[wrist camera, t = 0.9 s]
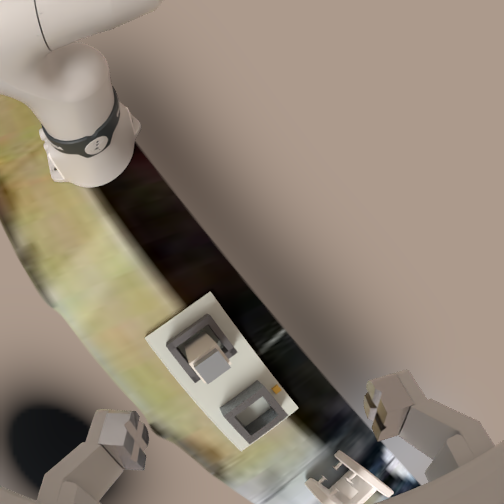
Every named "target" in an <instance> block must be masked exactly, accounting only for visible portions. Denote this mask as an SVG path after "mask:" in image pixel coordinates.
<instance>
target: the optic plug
mask: <svg viewBox="0 0 504 504" xmlns="http://www.w3.org/2000/svg"><path fill="white" fill-rule="evenodd" d="M184 347H185V351H186V355H187V359H188V363H189V365H190V366H191V367H192V369H193V370H194V371H195V372H196V374H197V375H198V376H199V377H200V379H201V380H202V381H203V382H204V383H207V384H209V383H211V382H212V381H213V380H215V379H216V378H218V377H219V376H220V375H222V374H223V373H224V372H226V371H227V370H229V369H230V368H231V367H230V365H231V364H232V363H231V362H230V360H229V359H228V358H227V356H226V355H225V354H224V352H223V351H222V350H221V349H220V347H219V346H218V345H217V343H216V342H215V341H214V340H213V339H212V338H211V337H210V336H209V335H208V334H207V333H206V332H205V331H203V332H202V333H201V334H199V335H198V336H196V337H195V338H194V339H192V340H191V341H189V342H188V343H187V344H185V345H184Z"/></svg>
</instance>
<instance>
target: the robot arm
mask: <svg viewBox="0 0 504 504" xmlns="http://www.w3.org/2000/svg"><path fill="white" fill-rule="evenodd" d="M162 2H163V0H0V94H2V95H6V96H9V97H12V98H14V99H17V100H19V101H21V102H23V103H24V104H26V105H27V106H28V107H29V108H30V109H31V110H32V111H33V113H34V114H35V115H36V117H37V118H38V119H39V121H40V122H41V123H42V128H41V129H40V130H39V134H40V137H41V139H42V140H45V144H44V148H45V150H46V152H47V157H48V163H49V168H50V173H51V177H52V179H53V180H54V181H55V182H70V183H73V184H75V185H78V186H81V187H97V186H101V185H104V184H106V183H108V182H110V181H112V180H113V179H115V178H116V177H118V176H119V175H120V174H121V173H122V172H123V171H124V170H125V168H126V167H127V165H128V164H129V162H130V160H131V158H132V155H133V151H134V143H135V139H136V137H137V136H138V134H139V132H140V130H141V124H140V122H139V121H138V120H137V119H136V118H135V117H134V116H133V115H132V114H131V113H130V112H129V109H128V107H125V106H124V105H123V104H122V103H121V102H120V101H119V99H118V95H117V93H116V91H115V89H114V88H113V86H112V83H111V77H110V72H109V67H108V63H107V60H106V59H105V57H104V56H103V54H102V53H100V52H99V51H98V50H97V49H95V48H94V47H92V46H90V45H88V44H85V43H80V42H75V41H78V40H81V39H84V38H86V37H89V36H92V35H95V34H98V33H101V32H104V31H107V30H111V29H114V28H116V27H118V26H120V25H123V24H125V23H127V22H130V21H132V20H134V19H136V18H138V17H141V16H143V15H145V14H148V13H150V12H152V11H155V10H156V9H157V8H158V7H159V5H160V4H161V3H162ZM132 122H133V123H132ZM55 169H57V170H56V171H55ZM366 388H367V390H368V392H367V393H366V395H365V396H364V409H365V413H366V415H367V418H368V419H369V420H371V421H373V425H372V430H373V432H374V434H375V437H376V439H377V441H381V440H385V439H388V438H391V437H394V436H397V435H399V437H401V438H402V439H404V440H405V441H406V442H408V443H409V444H411V445H412V446H414V447H415V448H416V449H418V450H419V451H421V452H422V453H424V454H425V455H427V456H428V457H430V458H431V459H433V461H432V463H431V464H430V466H429V467H428V468H427V470H426V472H425V475H426V477H427V479H428V481H429V482H428V483H426V484H424V485H422V486H419V487H417V488H415V489H412V490H410V491H407V492H405V493H402V494H400V495H397V496H395V497H392V498H389V499H386V500H383V501H381V502H378V503H375V504H504V440H503V441H502V442H500V443H499V444H498V445H496V446H495V445H494V444H493V442H492V440H491V439H490V437H489V436H488V434H487V433H486V431H485V430H484V428H483V426H482V425H481V423H480V422H479V421H477V420H475V419H473V418H471V417H468V416H466V415H464V414H462V413H460V412H457V411H456V410H453V409H451V408H449V407H447V406H445V405H443V404H441V403H439V402H437V401H434V400H432V399H429V400H427V398H426V397H425V395H424V393H423V392H422V390H421V389H420V387H419V386H418V384H417V382H416V381H415V379H414V378H413V376H412V375H411V373H410V372H409V371H408V370H403V371H400V372H397V373H393V374H389V375H386V376H383V377H379V378H376V379H372V380H369V381H368V382H367V386H366ZM148 441H149V436H148V431H147V428H146V426H145V424H144V423H142V422H140V421H139V415H138V413H137V412H136V411H120V410H104V409H98V410H97V411H96V413H95V415H94V418H93V421H92V424H91V427H90V430H89V433H88V436H87V439H86V442H85V443H83V442H82V443H81V444H80V445H79V446H78V447H76V448H75V449H74V450H73V451H72V452H71V453H69V454H68V455H67V456H66V457H65V458H64V459H63V460H61V461H60V462H59V463H58V464H57V465H55V466H54V467H53V468H52V469H51V470H50V471H48V472H47V473H46V474H45V475H44V478H43V482H42V485H41V488H40V491H39V494H38V498H37V501H36V500H33V499H30V498H28V497H25V496H23V495H20V494H18V493H15V492H13V491H11V490H8V489H6V488H4V487H2V486H0V504H101V503H100V502H98V501H99V500H100V499H101V498H102V496H103V495H104V494H105V493H106V491H107V490H108V489H109V488H110V487H111V485H112V484H113V483H114V482H115V481H116V479H117V478H118V477H119V476H120V474H121V473H122V472H123V471H124V470H123V469H130V470H144V467H145V461H146V455H145V453H144V452H143V451H144V450H145V449H146V448H147V447H148Z"/></svg>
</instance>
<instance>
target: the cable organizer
mask: <svg viewBox="0 0 504 504" xmlns="http://www.w3.org/2000/svg"><path fill="white" fill-rule="evenodd" d="M334 456H335V457H336V458H337V459H338V460H339V461H340V462H339V463H338V464H337V465H336V466H335V467H334V469H336V470H337V469H338V468H339V467H340V466H341V465H342V464H344V465H345V466H346V467H348V468H349V469H350V470H349V471H348V472H347V473H345V474H344V475H343V476H342V477H341V478H340V479H339V480H338V481H337V482H336V483H335V484H334V485H333V486H332V487H331V488H330V489H328V488H326V487H325V486H323V485H322V484H321V483H322V482H323V481H324V480H325V479H326V478H325V477H324V476H323V475H322V476H323V477H322V478H321V479H320V480H319V481H316V480H314V479H313V478H310V479H309V480H307V481H306V482H305V485H306V486H307V488H308V489H309V490H310V491H311V492H312V493H313V495H314V496H315V497H316V498H317V499H318V500H319V501H320V502H321V504H363V503H364V502H365V501H366V500H367V499H368V498H369V497H371V496H372V495H373V494H374V493H375V492H376V490H378V491H379V492H380V493H382V494H383V495H385V496H387V497H390V496H391V495H392V494H393V493H394V492H393V490H391V489H390V488H389V487H388V486H387V485H385V484H384V483H383V482H382V481H380V480H379V479H378V478H377V477H375V476H374V475H373V474H372V473H370V472H369V471H368V470H367V469H365V468H364V467H362V466H361V465H360V464H358V463H357V462H356V461H354V460H353V459H352V458H350V457H349V456H348V455H346V454H345V453H344V452H342V451H340V450H338V451H337V452H336V453H335V454H334ZM337 471H338V470H337ZM326 480H327V479H326Z"/></svg>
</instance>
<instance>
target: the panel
mask: <svg viewBox="0 0 504 504" xmlns="http://www.w3.org/2000/svg"><path fill="white" fill-rule="evenodd" d="M203 331H205V332H206V333H207V334H208V335H209V336H210V337H211V338H212V339H213V340H214V341H215V342H216V343H217V345H218V346H219V347H220V349H221V350H222V351H223V352H224V354H225V355H226V356H227V358H228V359H229V360H230V362H231V363H232V364H231V365H230V367H231V368H230V369H229V370H227V371H226V372H224V373H223V374H222V375H220V376H219V377H218V378H216V379H215V380H213V381H212V382H211V383H209V384H207V383H204V382H203V381H202V380H201V379H200V377H199V376H198V375H197V374H196V372H195V371H194V370H193V369H192V367H191V366H190V365H189V363H188V359H187V355H186V351H185V347H184V345H185V344H187V343H188V342H189V341H191V340H192V339H194V338H195V337H196V336H198V335H199V334H201V333H202V332H203ZM145 339H146V341H147V342H148V344H149V345H150V346H151V348H152V349H153V350H154V352H155V353H156V354H157V356H158V357H159V358H160V360H161V361H162V362H163V363H164V365H165V366H166V367H167V369H168V370H169V371H170V372H171V374H172V375H173V376H174V377H175V379H176V380H177V381H178V382H179V384H180V385H181V386H182V387H183V388H184V390H185V391H186V392H187V393H188V394H189V396H190V397H191V398H192V399H193V400H194V401H195V403H196V404H197V405H198V406H199V407H200V408H201V409H202V411H203V412H204V413H205V414H206V415H207V416H208V417H209V418H210V420H211V421H212V422H213V423H214V424H215V425H216V426H217V427H218V428H219V429H220V430H221V431H222V433H223V434H224V435H225V436H226V437H227V438H228V439H229V440H230V441H231V442H232V443H233V444H234V445H235V446H236V447H237V448H238V449H239V450H240V451H242V450H244V449H245V448H247V447H248V446H250V445H251V444H252V443H254V442H255V441H257V440H258V439H259V438H261V437H262V436H263V435H265V434H266V433H267V432H269V431H270V430H271V429H273V428H274V427H275V426H277V425H278V424H279V423H281V422H282V421H283V420H284V419H286V418H287V417H288V416H289V415H291V414H292V413H293V412H294V411H296V410H297V409H298V407H297V405H296V404H295V403H294V402H293V400H292V399H291V398H290V397H289V395H288V394H287V393H286V392H285V390H284V389H283V388H282V387H281V385H280V384H279V383H278V381H277V380H276V379H275V378H274V376H273V375H272V374H271V372H270V371H269V370H268V369H267V367H266V366H265V365H264V363H263V362H262V361H261V359H260V358H259V357H258V356H257V354H256V353H255V352H254V350H253V349H252V348H251V346H250V345H249V344H248V342H247V341H246V340H245V338H244V337H243V336H242V334H241V333H240V331H239V330H238V329H237V327H236V326H235V325H234V323H233V322H232V321H231V319H230V318H229V316H228V315H227V314H226V312H225V311H224V310H223V308H222V307H221V305H220V304H219V303H218V301H217V300H216V298H215V297H214V296H213V294H212V293H211V291H210V292H208V293H207V294H206V295H204V296H203V297H201V298H200V299H199V300H197V301H196V302H194V303H193V304H192V305H190V306H189V307H187V308H186V309H184V310H183V311H182V312H180V313H179V314H177V315H176V316H175V317H173V318H172V319H170V320H169V321H167V322H166V323H165V324H163V325H162V326H160V327H159V328H158V329H156V330H155V331H153V332H152V333H150V334H149V335H148V336H146V337H145ZM256 380H258V381H259V382H260V383H262V384H263V385H264V386H265V387H266V389H267V390H268V391H269V392H270V394H271V395H272V396H273V397H274V398H275V400H276V401H277V402H278V403H279V405H280V406H281V407H282V408H283V409H284V411H285V412H286V413H287V414H288V416H287V417H286V418H284V419H283V420H282V421H281V422H279V423H278V424H277V425H275V426H274V427H273V428H271V429H270V430H269V431H267V432H266V433H265V434H263V435H262V436H261V437H259V438H258V439H257V440H255V441H254V442H252V443H251V444H249V443H248V442H247V441H246V440H245V439H244V438H243V437H242V436H241V435H240V434H239V433H238V432H237V431H236V430H235V429H234V428H233V426H232V425H231V424H230V423H229V422H228V421H227V420H226V419H225V418H224V417H223V415H222V413H221V410H220V407H221V406H223V405H224V404H225V403H227V402H228V401H230V400H231V399H232V398H234V397H235V396H236V395H238V394H239V393H240V392H242V391H243V390H245V389H246V388H247V387H249V386H250V385H251V384H252V383H254V382H255V381H256ZM270 408H271V407H270V406H269V404H268V403H267V402H266V401H265V400H264V398H263V397H261V398H259V399H258V400H257V401H255V402H254V403H253V404H251V405H250V406H249V407H247V408H246V409H245V410H243V411H242V412H241V413H239V414H238V415H236V417H237V418H238V419H239V420H240V421H241V422H242V423H243V425H244V426H245V427H246V426H247V425H248V424H250V423H251V422H252V421H254V420H255V419H256V418H258V417H259V416H260V415H262V414H263V413H264V412H266V411H267V410H268V409H270Z"/></svg>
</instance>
